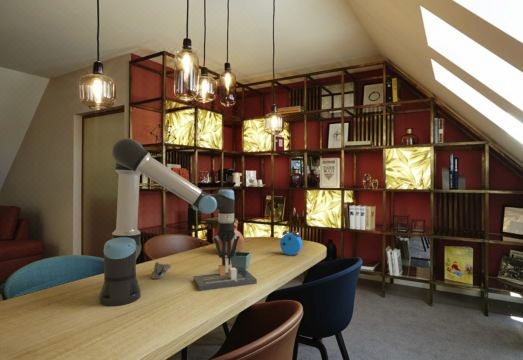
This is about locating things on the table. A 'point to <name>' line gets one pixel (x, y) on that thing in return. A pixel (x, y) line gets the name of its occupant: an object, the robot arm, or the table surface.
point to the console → (223, 280)
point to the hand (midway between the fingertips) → (226, 271)
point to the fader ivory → (233, 273)
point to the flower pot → (240, 260)
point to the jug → (239, 243)
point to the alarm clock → (291, 243)
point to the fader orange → (222, 270)
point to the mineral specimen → (160, 270)
